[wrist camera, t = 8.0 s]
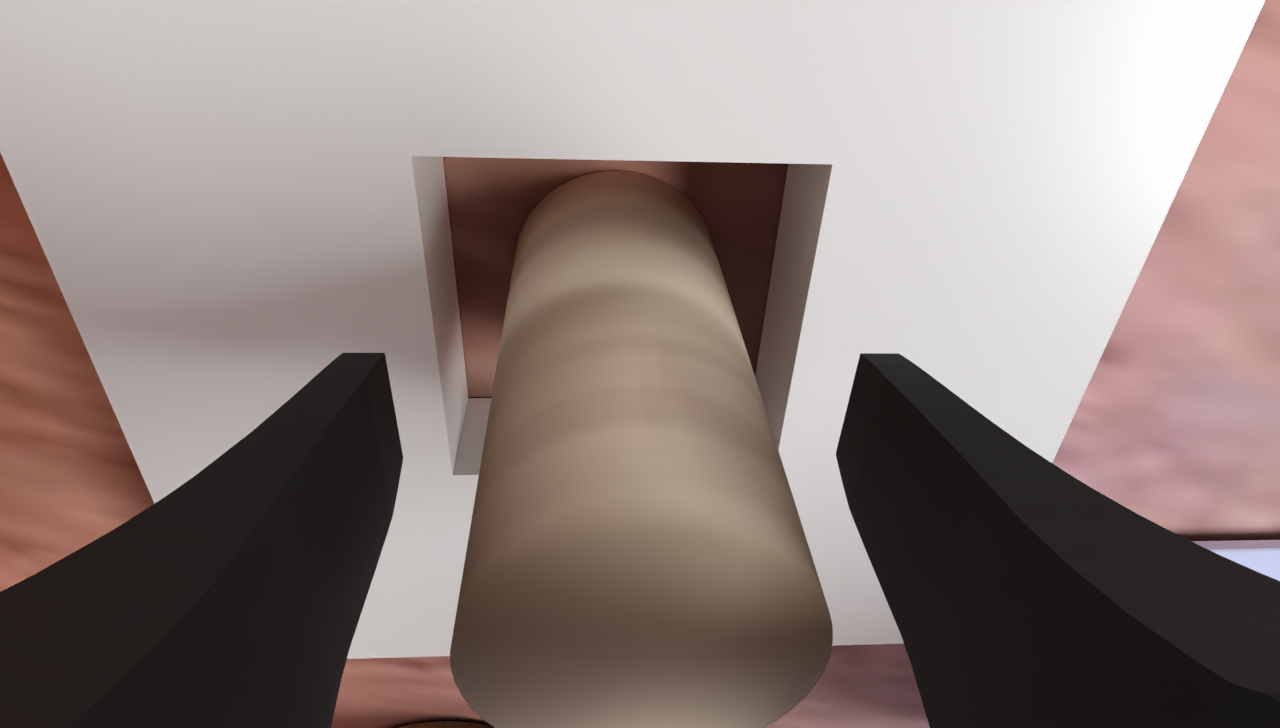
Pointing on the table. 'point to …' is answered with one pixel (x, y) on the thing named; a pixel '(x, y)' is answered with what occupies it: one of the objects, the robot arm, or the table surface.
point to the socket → (595, 130)
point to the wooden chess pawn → (446, 725)
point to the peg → (631, 488)
